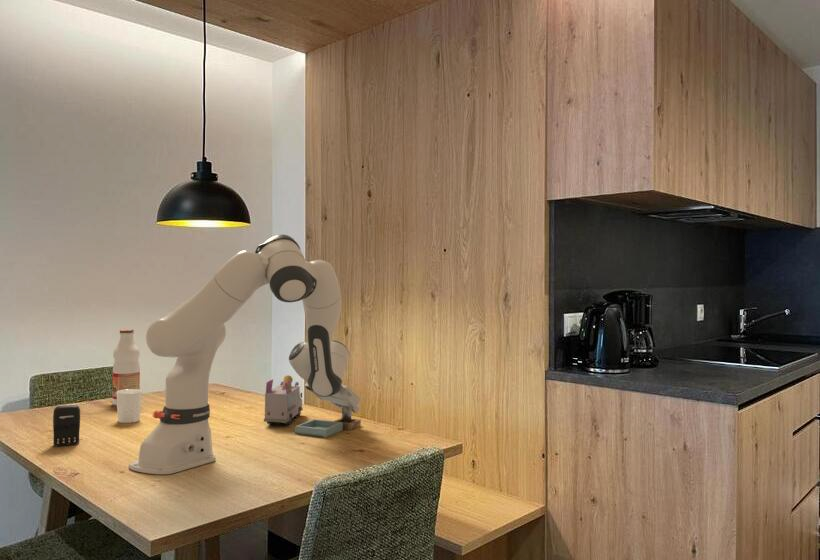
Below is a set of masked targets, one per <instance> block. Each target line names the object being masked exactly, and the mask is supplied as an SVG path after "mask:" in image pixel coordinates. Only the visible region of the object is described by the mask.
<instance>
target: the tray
mask: <svg viewBox="0 0 820 560" xmlns="http://www.w3.org/2000/svg"><path fill="white" fill-rule="evenodd" d="M294 430H295V431H294V434H295V435H301V436H306V437H307V436H308V437H315V438H316V437H317V438H322V439H323V438H324V439H327V438H329V437H331V436H333V435H335V434H337V433H339V432H341V431H343V430H344V429H343V422H335V420H326V419H318V418H317V419H316V418H312V419H309V420H307V421H305V422H302V423H300V424H298V425H295V427H294Z"/></svg>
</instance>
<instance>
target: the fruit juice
mask: <svg viewBox="0 0 820 560" xmlns="http://www.w3.org/2000/svg"><path fill="white" fill-rule="evenodd" d="M134 333H135V330H134V329H130V328H129V329H127V328H125V329H120V330H119V335H120V338H119V340H118V343H117V345H116V346H115V348H114V350H113V354H112V355H113V358H114V359H113V360H114V362H113V364H112V384H111V385H112V393H111V395H112V397H111V399H112V400H111V402H112V405H113V406H116V407H117V391H120V390H126V389H139V390H141V389H140V386H141V385H140V384H141V383H140V381H141V377H140V376H141V372H140V371H141V366H140V363H139V358H140V356H141V355H140V352H141V351H140V349H139V347H138V346H137V345H136V342H135V339H134Z"/></svg>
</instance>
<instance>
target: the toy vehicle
mask: <svg viewBox="0 0 820 560" xmlns="http://www.w3.org/2000/svg"><path fill="white" fill-rule="evenodd" d="M273 383H274V379H270V380H268V381H266V385H265V393H264V418H263V422H265V423H266V424H269V425H273V424H274V423H283V424H284V425H285V426H286V425H287V426H290V425H291V424H292V422H293V418H294V417H295V418H300V417H301V414H302V413H301V412H302V411H303V399H302V398H303V393H302V392H300V387H301V386H299V382H298V381H296V382H295V383H294V385H292V383H293V377H292V376H291V375H290V374H289V375H288V374H287V375H285V376H284V377H283V381H280V384H279V385H278V386H276V387H274V388H273Z"/></svg>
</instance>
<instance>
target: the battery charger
mask: <svg viewBox="0 0 820 560" xmlns="http://www.w3.org/2000/svg"><path fill="white" fill-rule="evenodd" d="M52 427H53V428H52V431H53V432H52V435H53V440H52V441H53V442H52V443H53V446H54V447H63V446H73V445H77V444H80V430H81V408H80V406H79V405H78V404H73V403H71V404H60V405H57V406H55V407H54V409H53V412H52Z"/></svg>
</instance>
